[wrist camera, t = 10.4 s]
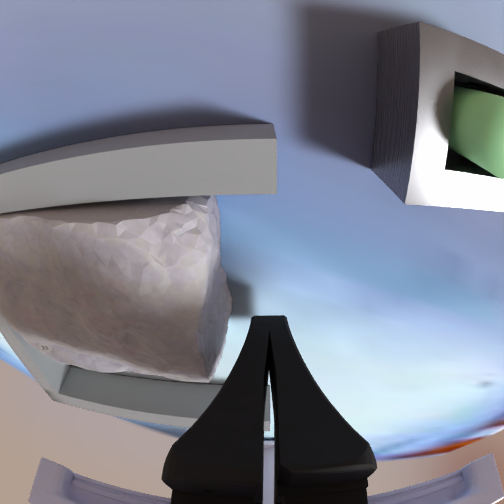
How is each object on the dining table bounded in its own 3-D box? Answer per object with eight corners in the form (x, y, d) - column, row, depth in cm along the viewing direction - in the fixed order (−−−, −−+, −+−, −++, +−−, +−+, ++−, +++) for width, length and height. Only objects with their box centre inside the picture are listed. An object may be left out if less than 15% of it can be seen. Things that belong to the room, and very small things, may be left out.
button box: (475, 180, 10) (518, 213, 7) (370, 169, 10) (404, 204, 7) (488, 65, 7) (540, 74, 5) (377, 32, 7) (419, 21, 5)
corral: (269, 397, 18) (269, 431, 16) (64, 374, 19) (53, 400, 16) (272, 123, 9) (276, 139, 7) (-32, 174, 10) (-64, 195, 8)
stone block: (240, 320, 17) (223, 151, 10) (232, 400, 13) (193, 252, 6) (67, 304, 18) (-5, 179, 11) (42, 365, 14) (-61, 246, 7)
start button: (457, 144, 9) (525, 183, 6) (410, 136, 9) (475, 174, 6) (462, 89, 8) (537, 111, 4) (415, 77, 8) (487, 89, 5)
